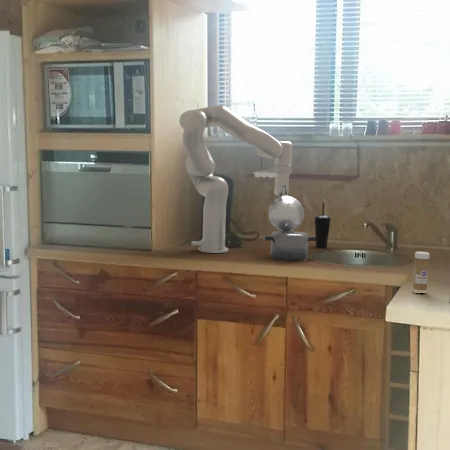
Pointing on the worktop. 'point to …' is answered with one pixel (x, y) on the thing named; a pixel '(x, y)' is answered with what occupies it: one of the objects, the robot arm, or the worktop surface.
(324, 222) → the drinking cup
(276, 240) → the cooker pot
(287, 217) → the lid
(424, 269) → the sprinkles bottle
